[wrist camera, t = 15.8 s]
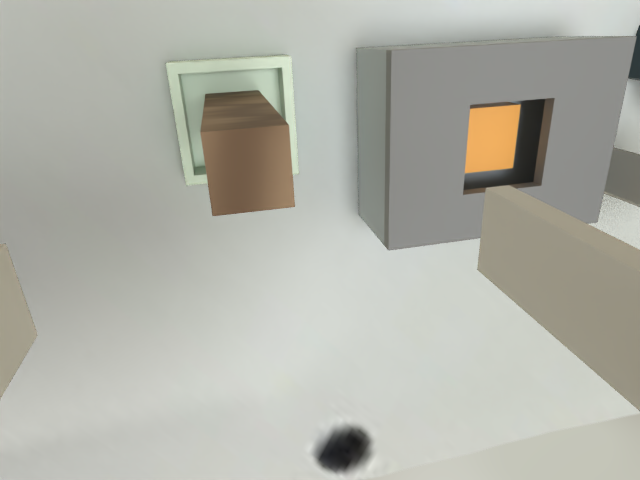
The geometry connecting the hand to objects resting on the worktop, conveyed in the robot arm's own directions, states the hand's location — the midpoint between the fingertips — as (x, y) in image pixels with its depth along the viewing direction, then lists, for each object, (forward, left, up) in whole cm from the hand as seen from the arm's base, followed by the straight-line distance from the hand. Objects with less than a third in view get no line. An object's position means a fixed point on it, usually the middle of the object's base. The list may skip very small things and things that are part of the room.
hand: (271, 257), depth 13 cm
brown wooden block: (0, 0, -26) cm, 26 cm away
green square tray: (0, 0, -26) cm, 26 cm away
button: (+19, -3, -23) cm, 30 cm away
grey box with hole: (+19, -3, -26) cm, 33 cm away
